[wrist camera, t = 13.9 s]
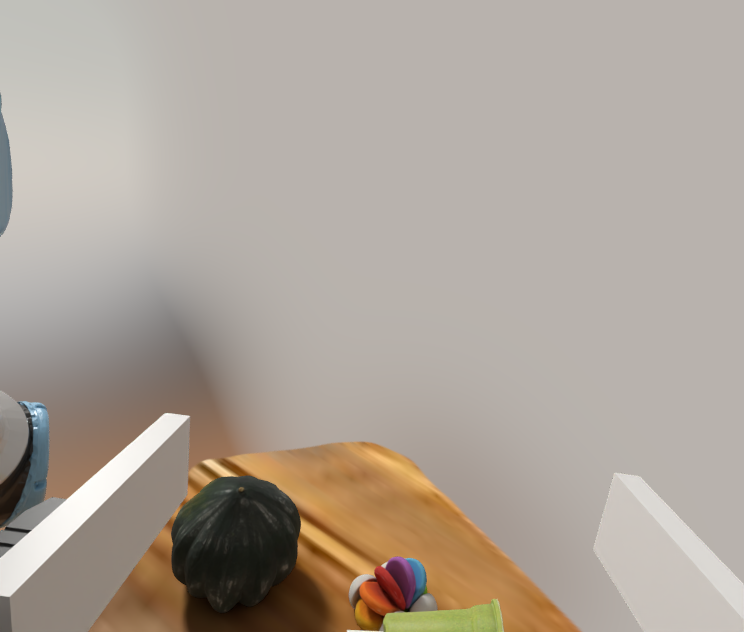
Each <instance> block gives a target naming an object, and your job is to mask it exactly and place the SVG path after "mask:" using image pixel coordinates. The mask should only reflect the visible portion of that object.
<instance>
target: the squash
mask: <svg viewBox="0 0 744 632" xmlns="http://www.w3.org/2000/svg"><path fill="white" fill-rule="evenodd" d="M300 527H301V521H300V516H299V513H298V510H297V508H296V506H295V504H294V503H293V502H292V500H291V499H290V498H289V497H288V496H287V495H286V494H285V493H283V492H282V491H281V490H279V489H278V488H277V486H276V485H274V484H272V483H270V482H268V481H264V480H259V479H257V478H255V477H252V476H241V477H232V476H231V477H221V478H218V479H215V480H213V481H212V482H210V483H209V484H208V485H206V486H205V487H204V488H203V489H202V490H201V491H200V493H198V494H197V495H196V496H194V497H193V498H192V499H191V500H190V501H188V502H187V503H186V504H185V505H184V506H183V507H182V508H181V510H180V511H179V513H178V515H177V517H176V519H175V521H174V524H173V527H172V532H171V537H172V542H173V547H172V570H173V573H174V576H175V577H176V578H177V579H178V580H179V581H180V582H181V583H183V584H185V585H186V586H187V590H188V592H189V593H190V594H191V595H192V596H193V597H195V598H205V597H207V599H208V601H209V603H210V604H211V606H212V607H213V609H214V610H215V611H217V612H219V613H225V612H227V611H229V610H230V609H232V608H233V607H234V606H235V605H236V604H237V603H238V602H240V603H241V604H243V605H245V606H247V607H252V606H254V605H256V604H258V603H259V602H261V601H262V600H263V599H264V597H265V596H266V595H267V593H268V591H269V590H270V588H271V587H272V586H275V585H277V584H279V583H281V582H282V581H283V580H284V579H285V578H286V577H287V576H288V575H289V574H290V573H291V571H292V569H293V568H294V566H295V564H296V559H297V547H298V544H297V540H298V537H299V532H300Z"/></svg>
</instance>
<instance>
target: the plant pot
mask: <svg viewBox="0 0 744 632" xmlns="http://www.w3.org/2000/svg"><path fill="white" fill-rule="evenodd" d="M383 632H504V628H503V620H502V614H501V610H500V605H499V602H498V600H497V599H492V601H491V604H484V605H475V606H473V607H472V608H470V609H460V610H441V611H423V612H404V613H387V614H386V615H385V617H384V620H383Z"/></svg>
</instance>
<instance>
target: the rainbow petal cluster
mask: <svg viewBox="0 0 744 632" xmlns="http://www.w3.org/2000/svg"><path fill="white" fill-rule="evenodd" d="M375 576H376V578H375V577H374V576H372V575H368V574H365V575H361V576H359V577H357V578H356V579H355V580H354V581H353V583H352V584H351V587H350V590H349V600H350V603H351V606H352V607H353V608H354V609H355V619H356V622H357V625H358V626H359V627H360V628H361V629H362V630H364V631H383V620H384V617H385V615H386V614H387V613H404V612H423V611H437V604H436V601H435V599H434V597H433V596H432V595H431V594H429V593H427V587H426V582H427V578H426V572H425V569H424V567H423V565H422V564H421V563H420V562H419V561H418V560H416V559H412V558H407V559H404V558H402V557H393V558H391V559H390V560H389V561H388V562H386V563H384V564H383V565H382V566H378V567H376V569H375Z"/></svg>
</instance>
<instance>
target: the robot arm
mask: <svg viewBox="0 0 744 632" xmlns="http://www.w3.org/2000/svg"><path fill="white" fill-rule="evenodd" d="M1 105H2V103H1V95H0V236H1V235H2V234H3V233H4V231H5V229H6V227H7V225H8V222H9V217H10V213H11V207H12V168H11V156H10V147H9V139H8V135H7V131H6V126H5V123H4V120H3V116H2V113H1ZM189 433H190V416H185V415H177V414H170V413H165V414H164V415H163V416H161V417H160V418H159V419H158V420H157V421H156V422H155V423H153V424H152V425H151V426H150V427H149V428H148V429H147V430H146V431H144V432H143V433H142V434H141V435H140V436H139V437H138V438H137V439H135V440H134V441H133V442H132V443H131V444H130V445H128V446H127V447H126V448H125V449H124V450H123V451H122V452H120V453H119V454H118V455H117V456H116V457H115V458H114V459H113V460H111V461H110V462H109V463H108V464H107V465H106V466H105V467H103V468H102V469H101V470H100V471H99V472H98V473H97V474H96V475H94V476H93V477H92V478H91V479H90V480H89V481H87V482H86V483H85V484H84V485H83V486H82V487H81V488H79V490H77V491H76V492H75V493H74V494H73V495H71V496H70V497H69V498H68V499H61V498H53V497H52V498H50V499H48V500H46V501H44V498H45V494H46V483H47V482H46V477H47V473H48V463H49V418H48V413H47V410H46V407H45V406H44V405H43V404H41V403H29V402H26V401H24V402H16V401H15V400H14V399H13V398H11V397H10V396H8V395H7V394H6V393H4V392H2V391H1V390H0V528H2V527H5V526H6V528H5V530H1V531H0V632H88V631H89V629H90V628H91V626H92V625H93V624H94V622H95V621H96V620H97V618H98V617H99V615H100V614H101V613H102V611H103V610H104V609H105V607H106V606H107V604H108V603H109V602H110V600H111V599H112V598H113V596H114V595H115V593H116V592H117V591H118V589H119V588H120V587H121V585H122V584H123V582H124V581H125V580H126V578H127V577H128V576H129V574H130V573H131V571H132V570H133V569H134V567H135V566H136V565H137V563H138V562H139V560H140V559H141V558H142V556H143V555H144V554H145V552H146V551H147V549H148V548H149V547H150V545H151V544H152V542H153V541H154V540H155V538H156V537H157V536H158V534H159V533H160V531H161V530H162V529H163V527H164V526H165V525H166V523H167V522H168V520H169V519H170V518H171V516H172V515H173V514H174V512H175V511H176V509H177V508H178V507H179V505H180V504H181V503H182V501H183V500H184V498H185V497H186V496H187V488H188V461H189V459H188V458H189ZM593 550H594V551H595V553H596V555H597V557H598V558H599V560H600V561H601V563H602V565H603V566H604V568H605V570H606V571H607V573H608V575H609V576H610V578H611V579H612V581H613V583H614V584H615V586H616V588H617V589H618V591H619V592H620V594H621V596H622V597H623V599H624V600H625V602H626V604H627V605H628V607H629V609H630V610H631V612H632V614H633V615H634V617H635V619H636V620H637V622H638V623H639V625H640V627H641V628H642V630H643V632H744V584H743V583H742V582H741V581H740V580H739V579H738V578H737V577H736V576H735V575H734V574H733V573H732V572H731V571H730V570H729V568H727V566H726V565H724V563H723V562H722V561H721V560H720V559H719V558H718V557H717V556H716V555H715V554H714V553H713V552H712V551H711V550H710V549H709V548H708V547H707V546H706V545H705V544H704V543H703V542H702V541H701V540H700V539H699V537H698V536H697V535H696V534H695V533H694V532H693V531H692V530H691V529H690V528H689V527H688V526H687V525H686V524H685V523H684V522H683V521H682V520H681V519H680V518H679V517H678V516H677V515H676V514H675V513H674V511H672V509H671V508H670V507H669V506H668V505H667V504H666V503H665V502H664V501H663V500H662V499H661V498H660V497H659V496H658V495H657V494H656V493H655V492H654V491H653V490H652V489H651V488H650V487H649V486H648V485H647V484H646V482H645V481H644V480H643V479H642V478H641V477H640V476H635V475H627V474H619V473H614V476H613V480H612V484H611V487H610V490H609V494H608V498H607V501H606V505H605V508H604V512H603V516H602V519H601V523H600V526H599V530H598V534H597V537H596V541H595V544H594V548H593Z"/></svg>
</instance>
